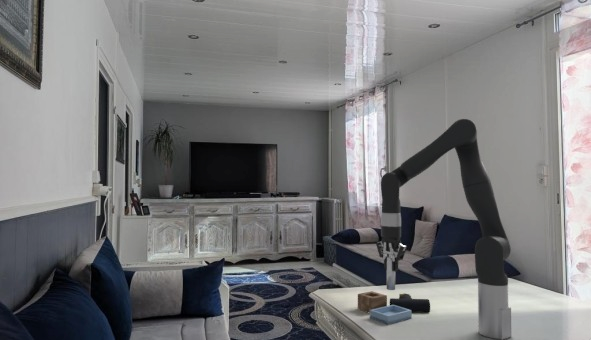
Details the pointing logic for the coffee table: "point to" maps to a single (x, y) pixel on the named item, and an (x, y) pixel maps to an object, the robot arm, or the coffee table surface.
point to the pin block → (371, 301)
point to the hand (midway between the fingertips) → (390, 270)
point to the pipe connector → (411, 303)
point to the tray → (390, 314)
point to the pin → (390, 275)
